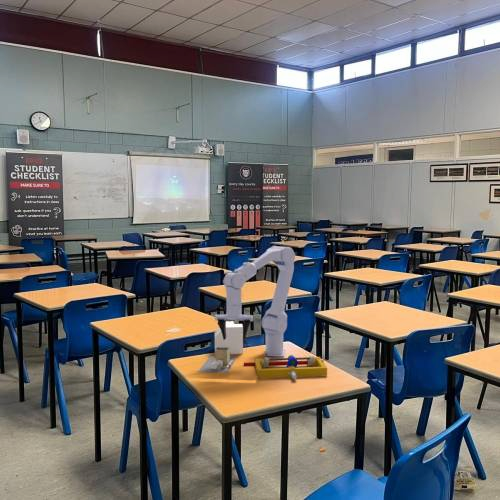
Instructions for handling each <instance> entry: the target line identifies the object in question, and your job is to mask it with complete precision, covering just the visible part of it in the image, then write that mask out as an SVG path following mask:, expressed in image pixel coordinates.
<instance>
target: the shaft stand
mask: <svg viewBox="0 0 500 500" xmlns="http://www.w3.org/2000/svg"><path fill="white" fill-rule="evenodd" d="M229 354H230V350H229ZM230 355H231V354H230ZM236 359H237V357H236V356H234V357H233V356H230V363H229V365H228V366H227V367H221V366H223V361H222V360H217V361H216V356H209V357H207V359H206V360H205V362H204V363H203V364H202V366H201V367H200V368H199V369H198V370H197V373H223V374H224V373H226V374H227V373H229V372H230V370H231V368H232V366H233V364H234V363H235V361H236Z"/></svg>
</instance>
